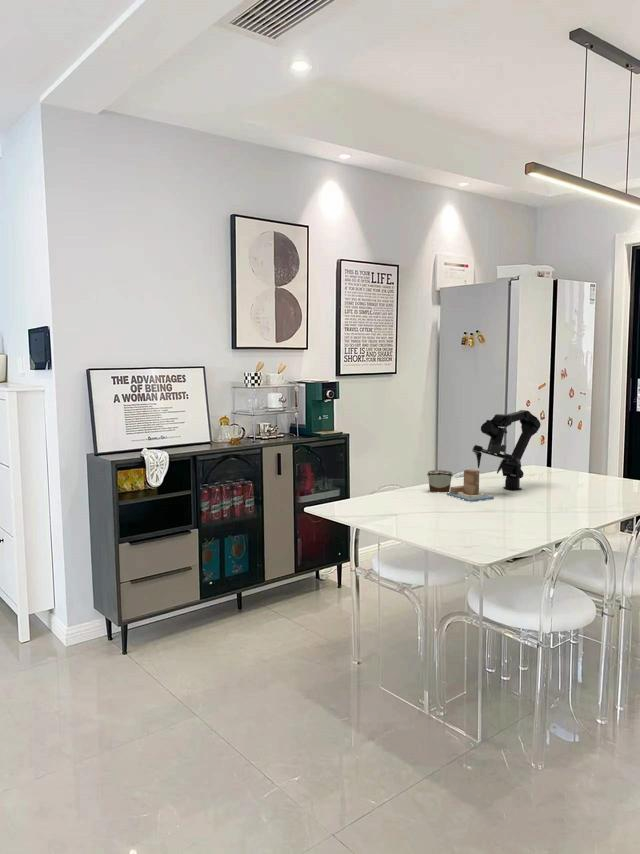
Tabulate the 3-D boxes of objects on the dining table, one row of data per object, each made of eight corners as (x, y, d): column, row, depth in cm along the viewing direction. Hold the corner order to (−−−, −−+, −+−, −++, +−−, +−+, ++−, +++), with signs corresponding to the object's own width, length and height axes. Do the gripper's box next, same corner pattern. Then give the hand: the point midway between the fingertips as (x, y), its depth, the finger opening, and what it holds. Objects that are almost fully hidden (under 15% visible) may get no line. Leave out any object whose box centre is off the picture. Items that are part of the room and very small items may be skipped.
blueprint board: (469, 492, 333) (470, 484, 332) (493, 499, 318) (493, 490, 317) (446, 494, 326) (446, 486, 326) (469, 502, 311) (470, 493, 311)
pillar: (470, 494, 323) (470, 469, 322) (478, 496, 319) (479, 470, 318) (463, 495, 320) (464, 470, 319) (471, 497, 316) (472, 471, 315)
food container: (451, 490, 337) (451, 470, 336) (452, 492, 331) (452, 472, 330) (425, 489, 338) (426, 469, 337) (426, 492, 332) (427, 471, 331)
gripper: (479, 431, 322) (470, 463, 320) (518, 442, 319) (510, 474, 317) (476, 435, 333) (467, 465, 331) (514, 445, 330) (506, 476, 328)
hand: (487, 470), depth 326 cm, fingers open, 9 cm apart
